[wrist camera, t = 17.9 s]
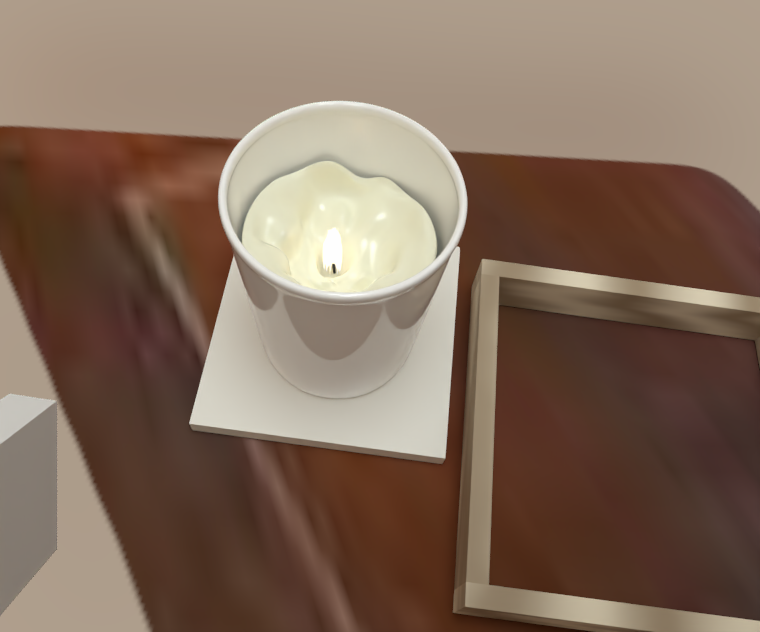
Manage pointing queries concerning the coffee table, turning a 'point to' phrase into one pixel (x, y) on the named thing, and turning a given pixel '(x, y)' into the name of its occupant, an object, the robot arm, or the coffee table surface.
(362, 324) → the candle holder
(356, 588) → the coffee table surface
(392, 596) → the coffee table surface
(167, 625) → the coffee table surface
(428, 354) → the coaster
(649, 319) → the birch frame
